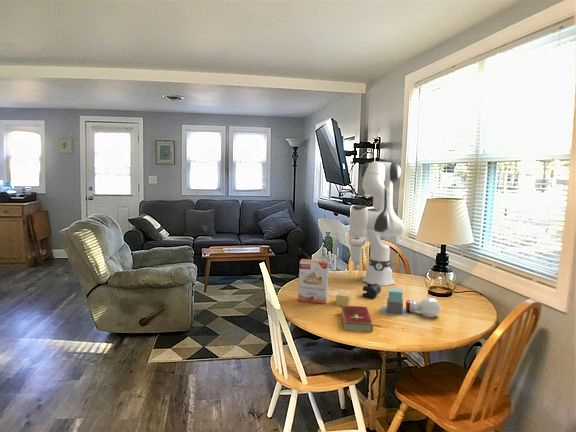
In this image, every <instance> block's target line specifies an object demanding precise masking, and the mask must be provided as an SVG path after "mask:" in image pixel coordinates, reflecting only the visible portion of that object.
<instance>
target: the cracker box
mask: <svg viewBox="0 0 576 432" xmlns="http://www.w3.org/2000/svg"><path fill="white" fill-rule="evenodd" d="M329 262H330V261H328V260H319V259H317V260H316V259H305V258H301V259H300V260H299V267H298V268H299V272H298V297H297V298H298V299H297V302H302V303H311V304H313V303H314V304H320V305H326V303H327V300H328V284H329V283H328V282H329V280H328V279H329Z"/></svg>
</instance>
